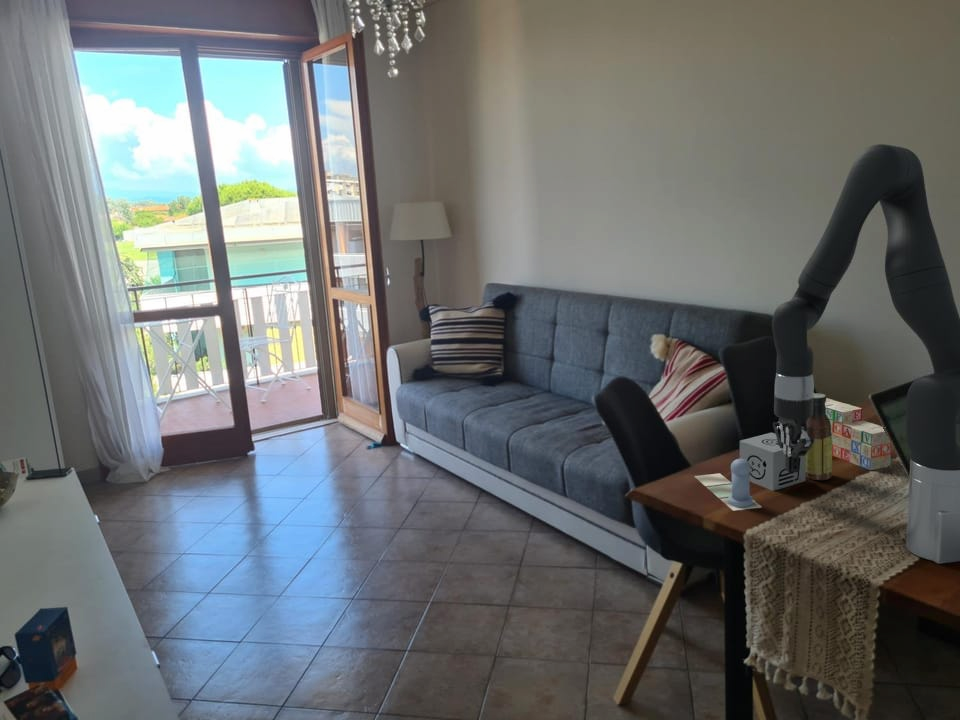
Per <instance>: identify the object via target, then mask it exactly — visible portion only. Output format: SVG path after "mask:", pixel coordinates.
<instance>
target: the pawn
mask: <svg viewBox="0 0 960 720" xmlns="http://www.w3.org/2000/svg"><path fill="white" fill-rule="evenodd" d="M750 470H751V467H750V464H749V463H748V462H747V461H746V460H744V459H740V458H737V459H735V460H733V461H732V463H731V464H730V471H731V484H732V494H731V495H729V496H728V497H727V498H728V503H729V504H730V505H731V506H734V507H739V508H747V507H750V506H752V505H753V500H754V498H753V496H751V495H750V492H751V491H750V487H751V486H750V483H751V482H750Z"/></svg>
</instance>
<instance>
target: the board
mask: <svg viewBox="0 0 960 720" xmlns="http://www.w3.org/2000/svg"><path fill="white" fill-rule="evenodd" d="M694 478H695V479H697V480H698V481H699V482H700V483H701V484H702V485H703V486H704V487H706V488H707V489H708V490H709V492H711V493H712V494H714V495H715V496H716V497H717V498H718V499H719V500H720V501H722V503H724V504H725V505H726V506H727V507H728V508H729V509H730V510H732V511H733V512H735V511H736V512H737V511H745V510H751V509H760V508H762V506H761V505H760V504H759V503H757V502H756V501H755V500H754V499H753V505H752V506H750V507H747V508H739V507H734V506H731V505H730V504H729V503H728V496H729V495H731V494H732V481H730V480H729V479H728V478H726V476H724V475H722V474H721V473H720V472H719V473H713V474H703V475H702V474H700V475H694Z"/></svg>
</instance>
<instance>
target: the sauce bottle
mask: <svg viewBox="0 0 960 720" xmlns="http://www.w3.org/2000/svg"><path fill="white" fill-rule="evenodd" d="M826 398H827V395H826V394H824V393H815V392H814V397H813V415H812V417H810V418H809V419H808V420H807V421H806V422H807V427H808V431H807V435H808V437H809V438H813V439H814V443H813V445H812V446H811V448H810V449H809V451H808V452H807V454H806V475H805V478H807V479H810V480H813V481H826V480H830V479H831V478H832V473H833V472H832V471H833V455H832V434H831V423H830V420H829V419H828V417H827V415H826V411H825V402H826Z"/></svg>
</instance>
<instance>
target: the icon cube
mask: <svg viewBox="0 0 960 720" xmlns="http://www.w3.org/2000/svg"><path fill="white" fill-rule="evenodd" d="M785 457H786V454H784V452H783V448H782V449H781V448H780V447H779V443H778V440H777V437H776V434H775V432H768V433H764V434H761V435H757V436H753V437H749V438H746V439H745V438H744V439H741V440H739V459H744V460H746V461H747V462H748V463H749V464H750V467H751V470H750V483H753V484H754V485H758V486H760V487H762V488H765V489H767V490H770V491H772V492H774V491H778V490H780V489H784V488H787V487H791V486H794V485H796V484H800V483H803V482H806V476H805V475H806V455H805V456H799V469H798V472H795V473H789V472H788V471H786V470H785Z"/></svg>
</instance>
